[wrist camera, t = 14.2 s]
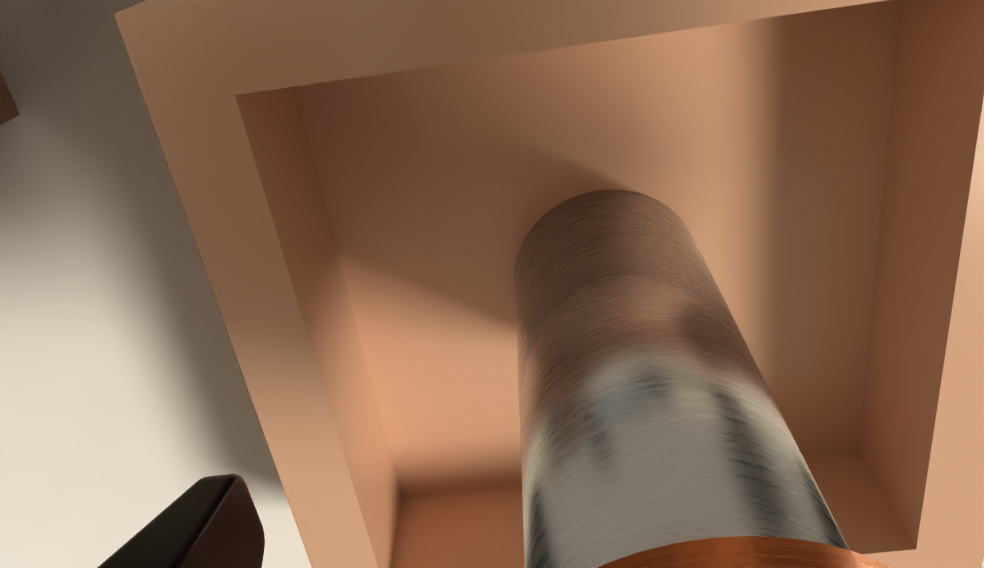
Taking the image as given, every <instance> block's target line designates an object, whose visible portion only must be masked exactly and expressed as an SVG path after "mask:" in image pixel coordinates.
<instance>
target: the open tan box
mask: <svg viewBox="0 0 984 568" xmlns="http://www.w3.org/2000/svg"><path fill="white" fill-rule="evenodd" d="M114 17H115V20H116V22H117V25H118V28H119V31H120V34H121V36H122V39H123V42H124V45H125V48H126V50H127V53H128V56H129V59H130V61H131V64H132V67H133V70H134V73H135V75H136V78H137V81H138V84H139V87H140V89H141V92H142V95H143V98H144V101H145V103H146V106H147V109H148V112H149V114H150V117H151V120H152V123H153V126H154V128H155V131H156V134H157V137H158V140H159V142H160V145H161V148H162V151H163V154H164V156H165V159H166V162H167V165H168V167H169V170H170V173H171V176H172V179H173V181H174V184H175V187H176V190H177V193H178V195H179V198H180V201H181V204H182V207H183V209H184V212H185V215H186V218H187V221H188V223H189V226H190V229H191V232H192V234H193V237H194V240H195V243H196V246H197V248H198V251H199V254H200V257H201V260H202V262H203V265H204V268H205V271H206V274H207V276H208V279H209V282H210V285H211V287H212V290H213V293H214V296H215V299H216V301H217V304H218V307H219V310H220V313H221V315H222V318H223V321H224V324H225V327H226V329H227V332H228V335H229V338H230V340H231V343H232V346H233V349H234V352H235V354H236V357H237V360H238V363H239V366H240V368H241V371H242V374H243V377H244V380H245V382H246V385H247V388H248V391H249V393H250V396H251V399H252V402H253V405H254V407H255V410H256V413H257V416H258V419H259V421H260V424H261V427H262V430H263V433H264V435H265V438H266V441H267V444H268V446H269V449H270V452H271V455H272V458H273V460H274V463H275V466H276V469H277V472H278V474H279V477H280V480H281V483H282V486H283V488H284V491H285V494H286V497H287V499H288V502H289V505H290V508H291V511H292V513H293V516H294V519H295V522H296V525H297V527H298V530H299V533H300V536H301V539H302V541H303V544H304V547H305V550H306V553H307V555H308V558H309V561H310V564H311V566H312V568H525V556H524V528H523V500H522V472H521V444H520V416H519V388H518V360H517V332H516V304H515V265H516V260H517V256H518V253H519V250H520V247H521V245H522V243H523V241H524V239H525V237H526V236H527V234H528V233H529V231H530V230H531V229H532V227H533V226H534V225H535V224H536V223H537V222H538V220H539V219H540V218H541V217H542V216H544V215H545V214H546V213H547V212H549V211H550V210H551V209H552V208H554V207H556V206H557V205H559V204H560V203H562V202H564V201H566V200H568V199H571V198H573V197H575V196H578V195H581V194H584V193H588V192H594V191H599V190H626V191H632V192H637V193H640V194H643V195H647V196H649V197H651V198H654V199H656V200H658V201H660V202H661V203H663V204H664V205H666V206H668V207H669V208H670V209H671V210H673V211H674V212H675V213H676V214H677V215H678V216H679V217H680V218H681V219H682V220H683V222H684V223H685V224H686V226H687V227H688V229H689V230H690V232H691V234H692V236H693V238H694V240H695V242H696V244H697V246H698V248H699V250H700V252H701V254H702V256H703V258H704V260H705V262H706V264H707V266H708V268H709V270H710V272H711V274H712V276H713V278H714V280H715V282H716V284H717V286H718V288H719V290H720V292H721V294H722V296H723V298H724V300H725V302H726V304H727V306H728V308H729V310H730V312H731V314H732V316H733V318H734V320H735V322H736V324H737V326H738V328H739V330H740V332H741V334H742V336H743V338H744V340H745V342H746V344H747V346H748V348H749V350H750V352H751V354H752V356H753V358H754V360H755V362H756V364H757V366H758V368H759V370H760V372H761V374H762V376H763V378H764V380H765V382H766V384H767V386H768V388H769V390H770V392H771V394H772V396H773V398H774V400H775V402H776V404H777V406H778V408H779V410H780V412H781V414H782V416H783V418H784V420H785V422H786V424H787V426H788V428H789V430H790V432H791V434H792V436H793V438H794V440H795V442H796V444H797V446H798V448H799V450H800V452H801V454H802V456H803V458H804V460H805V462H806V464H807V466H808V468H809V470H810V472H811V474H812V476H813V478H814V480H815V482H816V484H817V486H818V488H819V490H820V492H821V494H822V496H823V498H824V500H825V502H826V504H827V506H828V508H829V510H830V512H831V514H832V516H833V518H834V520H835V522H836V524H837V526H838V528H839V530H840V532H841V534H842V536H843V538H844V540H845V542H846V544H847V546H848V548H849V550H851V551H853V552H856V553H859V554H861V555H864V556H866V557H869V558H872V559H874V560H877V561H880V562H881V563H883V564H885V565H887V566H889V567H891V568H981V567H982V562H983V557H984V0H145V1H143V2H141V3H138V4H136V5H134V6H132V7H129V8H127V9H125V10H122V11H120V12H118V13H115V14H114Z"/></svg>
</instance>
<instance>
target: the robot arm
mask: <svg viewBox="0 0 984 568" xmlns="http://www.w3.org/2000/svg"><path fill="white" fill-rule="evenodd" d="M264 546H265V539H264V531H263V527H262V524H261V521H260V519H259V516H258V513H257V511H256V508H255V506H254V503H253V500H252V498H251V495H250V493H249V490H248V488H247V485H246V483H245V481H244V480H243V478H242V477H241V476H239V475H236V474H227V475H217V476H208V477H204V478H202V479H200V480H199V481H197V482H196V483H195V484H194V485H192V486H191V487H190V488H189V489H188V490H187V491H186V492H184V493H183V494H182V495H181V496H180V497H179V498H177V499H176V500H175V501H174V502H173V503H172V504H171V505H169V506H168V507H167V508H166V509H165V510H164V511H162V512H161V513H160V514H159V515H158V516H157V517H155V518H154V519H153V520H152V521H151V522H150V523H149V524H147V525H146V526H145V527H144V528H143V529H142V530H140V531H139V532H138V533H137V534H136V535H135V536H134V537H132V538H131V539H130V540H129V541H128V542H127V543H125V544H124V545H123V546H122V547H121V548H120V549H118V550H117V551H116V552H115V553H114V554H113V555H112V556H110V557H109V558H108V559H107V560H106V561H105V562H103V563H102V564H101V565H100V566H99V567H98V568H261V567H262V561H263V554H264Z"/></svg>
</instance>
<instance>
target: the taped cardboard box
mask: <svg viewBox="0 0 984 568" xmlns="http://www.w3.org/2000/svg"><path fill="white" fill-rule="evenodd" d="M18 115H19V112H18V110H17V108H16V105H15V103H14V101H13V99H12V96H11V94H10V92H9V90H8V87H7V85H6V83H5V81H4V78H3V76H2V74H1V72H0V125H1V124H3V123H5V122H7V121H8V120H10V119H12V118H14V117H16V116H18Z"/></svg>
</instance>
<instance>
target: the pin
mask: <svg viewBox="0 0 984 568" xmlns="http://www.w3.org/2000/svg"><path fill="white" fill-rule="evenodd" d="M515 304H516V332H517V360H518V388H519V416H520V444H521V472H522V500H523V528H524V556H525V568H891V567H889V566H887V565H885V564H883V563H881V562H880V561H877V560H874V559H872V558H869V557H866V556H864V555H861V554H859V553H856V552H853V551H851V550H849V548H848V546H847V544H846V542H845V540H844V538H843V536H842V534H841V532H840V530H839V528H838V526H837V524H836V522H835V520H834V518H833V516H832V514H831V512H830V510H829V508H828V506H827V504H826V502H825V500H824V498H823V496H822V494H821V492H820V490H819V488H818V486H817V484H816V482H815V480H814V478H813V476H812V474H811V472H810V470H809V468H808V466H807V464H806V462H805V460H804V458H803V456H802V454H801V452H800V450H799V448H798V446H797V444H796V442H795V440H794V438H793V436H792V434H791V432H790V430H789V428H788V426H787V424H786V422H785V420H784V418H783V416H782V414H781V412H780V410H779V408H778V406H777V404H776V402H775V400H774V398H773V396H772V394H771V392H770V390H769V388H768V386H767V384H766V382H765V380H764V378H763V376H762V374H761V372H760V370H759V368H758V366H757V364H756V362H755V360H754V358H753V356H752V354H751V352H750V350H749V348H748V346H747V344H746V342H745V340H744V338H743V336H742V334H741V332H740V330H739V328H738V326H737V324H736V322H735V320H734V318H733V316H732V314H731V312H730V310H729V308H728V306H727V304H726V302H725V300H724V298H723V296H722V294H721V292H720V290H719V288H718V286H717V284H716V282H715V280H714V278H713V276H712V274H711V272H710V270H709V268H708V266H707V264H706V262H705V260H704V258H703V256H702V254H701V252H700V250H699V248H698V246H697V244H696V242H695V240H694V238H693V236H692V234H691V232H690V230H689V229H688V227H687V226H686V224H685V223H684V222H683V220H682V219H681V218H680V217H679V216H678V215H677V214H676V213H675V212H674V211H673V210H671V209H670V208H669V207H668V206H666V205H664V204H663V203H661V202H660V201H658V200H656V199H654V198H651V197H649V196H647V195H643V194H640V193H637V192H632V191H626V190H599V191H594V192H588V193H584V194H581V195H578V196H575V197H573V198H571V199H568V200H566V201H564V202H562V203H560V204H559V205H557V206H556V207H554V208H552V209H551V210H550V211H549V212H547V213H546V214H545V215H544V216H542V217H541V218H540V219H539V220H538V222H537V223H536V224H535V225H534V226H533V227H532V229H531V230H530V231H529V233H528V234H527V236H526V237H525V239H524V241H523V243H522V245H521V247H520V250H519V253H518V256H517V260H516V265H515Z"/></svg>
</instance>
